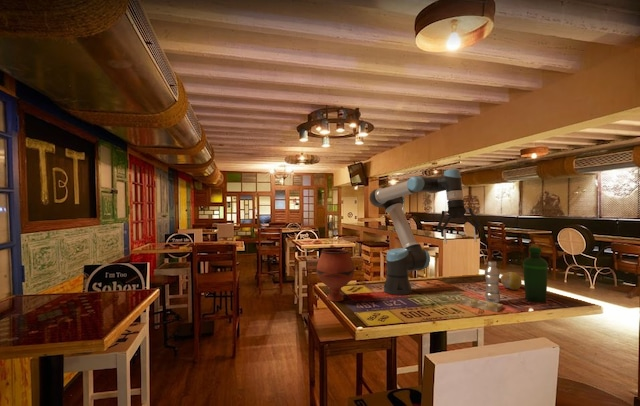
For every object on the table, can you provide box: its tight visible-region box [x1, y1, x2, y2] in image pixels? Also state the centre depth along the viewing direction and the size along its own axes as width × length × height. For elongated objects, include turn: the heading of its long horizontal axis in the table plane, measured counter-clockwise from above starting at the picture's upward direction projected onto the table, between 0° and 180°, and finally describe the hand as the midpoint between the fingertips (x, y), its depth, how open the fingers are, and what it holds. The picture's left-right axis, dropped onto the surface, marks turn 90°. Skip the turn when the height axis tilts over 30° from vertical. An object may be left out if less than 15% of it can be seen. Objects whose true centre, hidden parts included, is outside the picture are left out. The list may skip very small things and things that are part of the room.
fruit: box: [500, 271, 523, 291], centre depth 179 cm, size 10×11×10 cm
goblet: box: [316, 248, 355, 302], centre depth 160 cm, size 19×19×25 cm
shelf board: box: [459, 296, 504, 313], centre depth 148 cm, size 16×9×4 cm, turn 44°
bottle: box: [522, 243, 549, 304], centre depth 157 cm, size 11×11×28 cm
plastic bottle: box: [484, 260, 501, 304], centre depth 154 cm, size 6×7×20 cm
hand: (460, 242), depth 154 cm, fingers open, 13 cm apart
